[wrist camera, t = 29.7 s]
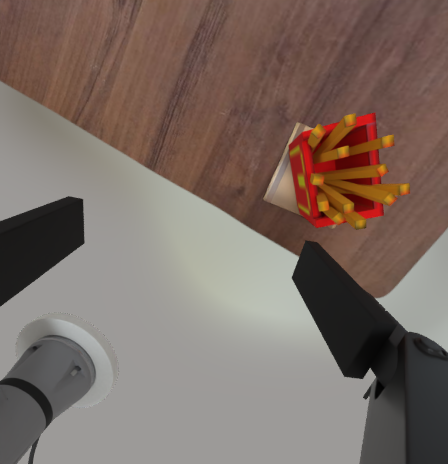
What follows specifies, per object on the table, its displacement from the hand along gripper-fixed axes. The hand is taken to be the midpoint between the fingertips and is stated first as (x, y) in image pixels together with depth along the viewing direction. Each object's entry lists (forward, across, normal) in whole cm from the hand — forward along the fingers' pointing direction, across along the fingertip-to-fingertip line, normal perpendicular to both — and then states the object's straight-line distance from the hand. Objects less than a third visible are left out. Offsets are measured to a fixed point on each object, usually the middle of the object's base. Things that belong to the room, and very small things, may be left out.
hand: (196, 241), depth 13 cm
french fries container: (+19, +14, +4) cm, 24 cm away
